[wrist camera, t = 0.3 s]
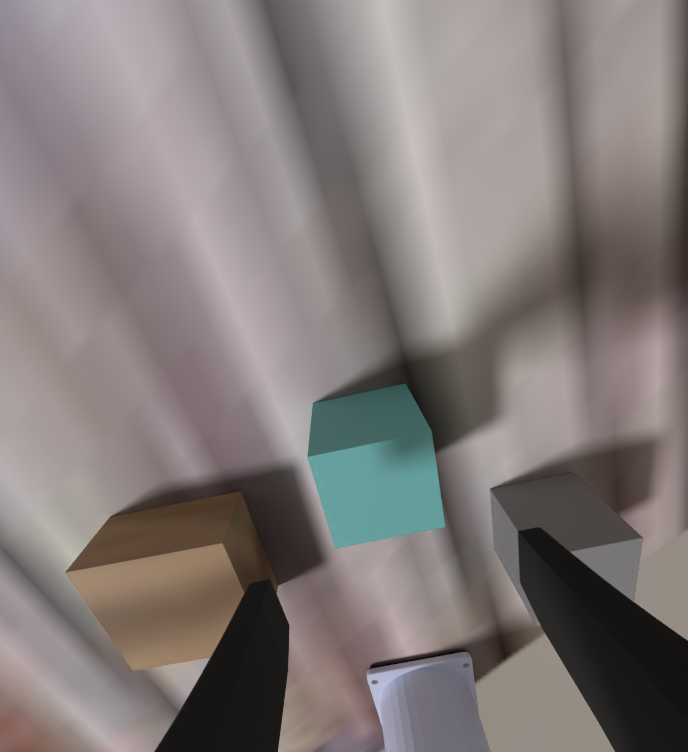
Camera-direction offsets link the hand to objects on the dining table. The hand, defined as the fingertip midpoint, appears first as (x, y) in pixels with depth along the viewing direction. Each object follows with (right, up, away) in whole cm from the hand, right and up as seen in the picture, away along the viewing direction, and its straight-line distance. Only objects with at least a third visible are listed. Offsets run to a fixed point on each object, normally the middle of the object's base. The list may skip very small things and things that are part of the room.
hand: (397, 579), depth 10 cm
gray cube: (+10, -3, +12) cm, 16 cm away
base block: (-11, -5, +12) cm, 17 cm away
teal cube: (0, +3, +9) cm, 10 cm away
